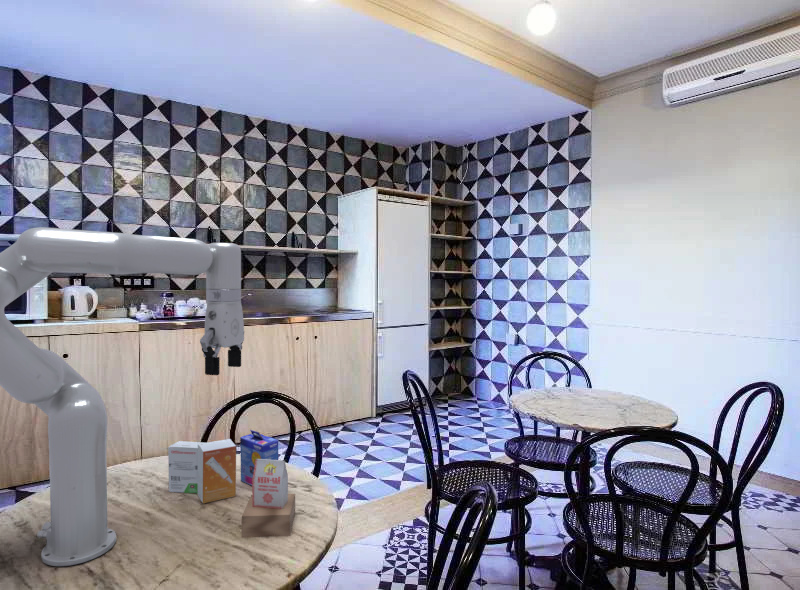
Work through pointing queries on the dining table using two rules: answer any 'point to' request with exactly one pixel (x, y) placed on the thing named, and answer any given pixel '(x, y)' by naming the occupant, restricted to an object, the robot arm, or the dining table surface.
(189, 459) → the ink box
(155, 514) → the dining table surface
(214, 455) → the small box
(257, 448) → the ink cartridge box
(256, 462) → the white carton
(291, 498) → the base block
